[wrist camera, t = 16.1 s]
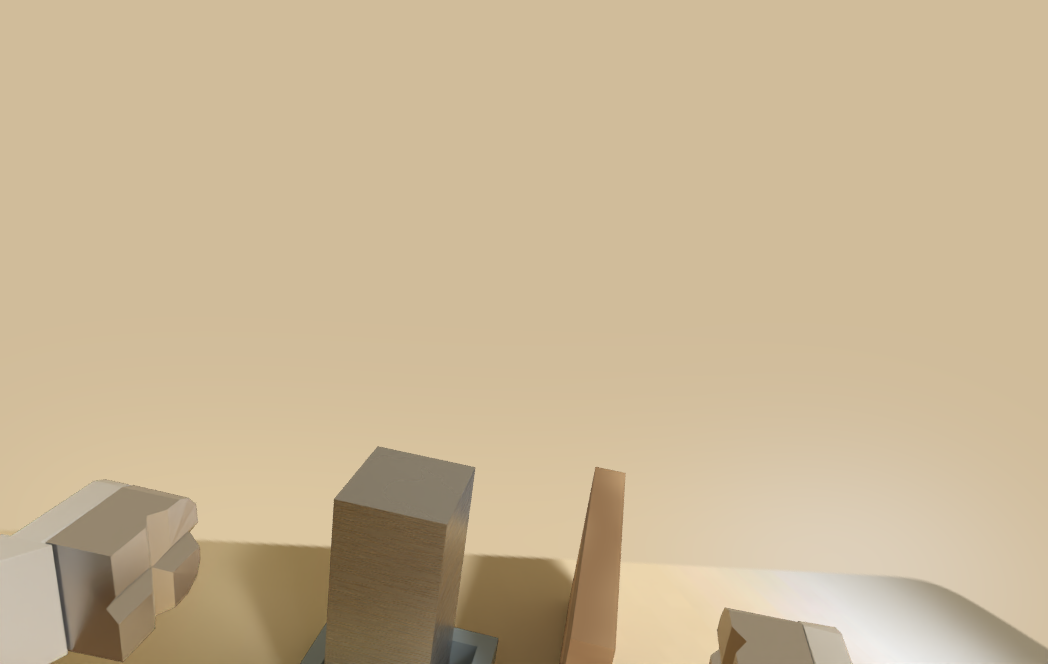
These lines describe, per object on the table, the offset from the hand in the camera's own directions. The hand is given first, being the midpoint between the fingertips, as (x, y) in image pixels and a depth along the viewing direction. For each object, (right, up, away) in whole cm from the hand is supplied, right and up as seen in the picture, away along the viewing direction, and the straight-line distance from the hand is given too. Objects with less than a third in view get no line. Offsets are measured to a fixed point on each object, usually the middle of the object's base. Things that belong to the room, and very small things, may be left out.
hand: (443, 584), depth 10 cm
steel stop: (-4, -12, +18) cm, 22 cm away
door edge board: (+3, -12, +21) cm, 24 cm away
